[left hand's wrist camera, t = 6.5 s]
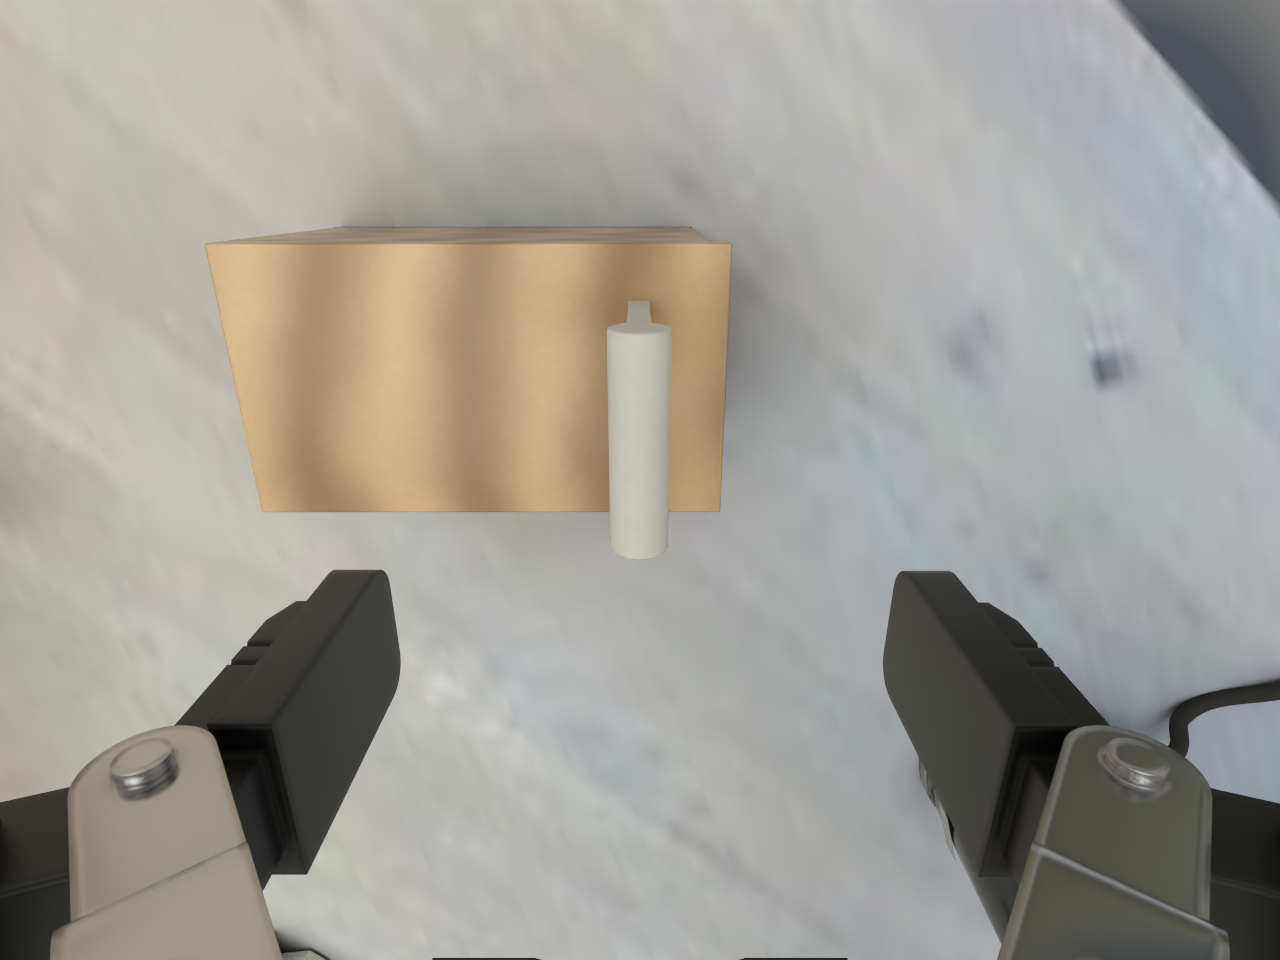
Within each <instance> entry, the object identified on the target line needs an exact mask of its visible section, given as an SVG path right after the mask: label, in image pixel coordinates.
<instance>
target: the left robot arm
mask: <svg viewBox="0 0 1280 960" xmlns="http://www.w3.org/2000/svg"><path fill="white" fill-rule="evenodd" d="M247 643H248V644H247V646H243V648H242V649H241V650H240V651H239V652H238V653H237V654H236V656H235V657H234V658H233V659H232V660H231V661H232V663H231V665H227V666H226V667H225V668H224V669H223V671H222V672H221V673H220V674H219V675H218V676H217V677H216V679H215V680H214V681H213V682H212V683H211V684H210V685H209V687H208V688H207V689H206V690H205V691H204V692H203V693H202V695H201V696H200V697H199V698H198V699H197V700H196V701H195V703H194V704H193V705H192V706H191V707H190V708H189V710H188V711H187V712H186V713H185V714H184V715H183V716H182V718H181V719H180V720H179V721H178V722H177V723H176V724H175V726H168V727H162V728H158V729H153V730H150V731H147V732H143V733H140V734H138V735H135V736H133V737H130V738H128V739H126V740H124V741H122V742H120V743H117V744H116V745H114V746H112V747H110V748H109V749H107V750H105V751H104V752H102V753H101V754H100V755H98V756H97V757H95V758H94V759H93V760H92V761H91V762H89V763H88V764H87V765H86V766H85V767H84V768H83V769H82V770H81V771H80V772H79V774H78V775H77V776H76V778H75V779H74V781H73V782H72V784H71V786H70V787H68V788H64V789H59V790H55V791H50V792H46V793H41V794H37V795H32V796H28V797H23V798H19V799H14V800H10V801H5V802H0V960H283V959H282V955H281V952H280V949H279V945H278V942H277V939H276V935H275V932H274V929H273V925H272V922H271V919H270V915H269V912H268V909H267V905H266V902H265V899H264V895H263V890H264V888H265V886H266V884H267V882H268V880H269V879H270V877H271V875H272V874H307V873H308V871H309V869H310V867H311V865H312V863H313V861H314V859H315V857H316V855H317V853H318V851H319V849H320V847H321V845H322V843H323V841H324V838H325V836H326V834H327V832H328V830H329V828H330V826H331V824H332V822H333V820H334V818H335V816H336V814H337V812H338V810H339V808H340V806H341V804H342V802H343V800H344V797H345V795H346V793H347V791H348V789H349V787H350V785H351V783H352V781H353V779H354V777H355V775H356V773H357V771H358V769H359V767H360V765H361V763H362V761H363V759H364V756H365V754H366V752H367V750H368V748H369V746H370V744H371V742H372V740H373V738H374V736H375V734H376V732H377V730H378V728H379V726H380V724H381V722H382V720H383V718H384V715H385V713H386V711H387V709H388V707H389V705H390V703H391V701H392V699H393V697H394V695H395V692H396V689H397V686H398V682H399V676H400V649H399V643H398V636H397V629H396V622H395V616H394V609H393V602H392V596H391V589H390V583H389V579H388V577H387V574H386V573H385V572H384V571H383V570H333V571H331V572H330V573H329V574H328V575H327V577H326V578H325V579H324V580H323V582H322V583H321V584H320V585H319V587H318V588H317V589H316V590H315V591H314V593H313V594H312V595H311V596H310V598H309V599H308V600H307V601H296V602H294V603H293V604H291V605H290V606H288V607H287V608H285V609H283V610H282V611H280V612H279V613H277V614H275V615H274V616H272V617H271V618H269V619H267V620H266V621H265V622H264V623H263V625H262V626H261V627H260V628H259V629H258V630H257V632H256V633H255V634H254V635H253V636H252V637H251V638H250V640H249V641H248V642H247ZM1037 644H1038V643H1037V642H1036V641H1035V640H1034V639H1033V638H1032V637H1031V636H1030V634H1029V633H1028V632H1027V631H1026V630H1025V629H1024V628H1023V626H1022V625H1021V624H1020V623H1019V622H1018V621H1017V620H1015V619H1013V618H1012V617H1010V616H1009V615H1007V614H1005V613H1004V612H1002V611H1001V610H999V609H997V608H996V607H994V606H993V605H991V604H989V603H978V602H977V601H976V599H975V598H974V597H973V596H972V595H971V593H970V592H969V591H968V590H967V588H966V587H965V586H964V585H963V584H962V582H961V581H960V580H959V579H958V578H957V576H956V575H955V574H954V573H952V572H951V571H901V572H900V573H899V574H898V575H897V577H896V580H895V583H894V589H893V595H892V602H891V609H890V615H889V622H888V629H887V635H886V642H885V648H884V656H883V671H884V679H885V685H886V689H887V692H888V695H889V697H890V699H891V701H892V703H893V705H894V707H895V709H896V711H897V713H898V715H899V717H900V719H901V721H902V723H903V725H904V727H905V729H906V731H907V733H908V735H909V737H910V739H911V742H912V744H913V746H914V748H915V750H916V752H917V754H918V756H919V758H920V776H921V780H922V783H923V785H924V787H925V789H926V791H927V793H928V795H929V798H930V799H931V801H932V802H933V804H934V806H936V808H937V810H938V812H939V814H940V816H941V819H942V821H943V826H944V831H945V836H946V841H947V844H948V846H949V849H950V851H951V853H952V855H953V857H954V859H955V856H954V851H953V846H952V842H953V844H954V847H955V849H956V851H957V853H958V855H959V857H960V859H961V861H962V863H963V865H964V867H965V869H966V871H967V874H968V876H969V878H970V880H971V882H972V884H973V886H974V888H975V890H976V892H977V894H978V896H979V899H980V901H981V903H982V905H983V907H984V909H985V911H986V913H987V915H988V917H989V919H990V921H991V924H992V926H993V928H994V930H995V932H996V934H997V936H998V938H999V940H1000V942H1001V944H1002V945H1001V949H1000V952H999V955H998V959H997V960H1280V804H1279V803H1274V802H1270V801H1265V800H1261V799H1256V798H1252V797H1247V796H1243V795H1238V794H1234V793H1229V792H1225V791H1220V790H1216V789H1212V788H1210V786H1209V784H1208V782H1207V781H1206V779H1205V778H1204V776H1203V775H1202V774H1201V772H1200V771H1199V770H1198V769H1197V768H1196V767H1195V766H1194V765H1193V764H1192V763H1191V762H1189V761H1188V760H1187V759H1186V758H1185V756H1186V754H1187V752H1188V748H1189V735H1188V724H1189V723H1190V722H1191V721H1192V720H1194V719H1195V718H1196V717H1197V716H1199V715H1201V714H1202V713H1204V712H1207V711H1209V710H1212V709H1215V708H1219V707H1224V706H1230V705H1237V704H1247V703H1257V702H1267V701H1274V700H1280V683H1275V684H1269V685H1263V686H1255V687H1245V688H1236V689H1228V690H1222V691H1217V692H1212V693H1208V694H1204V695H1201V696H1198V697H1195V698H1193V699H1190V700H1189V701H1187V702H1185V703H1184V704H1182V705H1181V706H1180V707H1179V708H1177V709H1176V710H1175V711H1174V712H1173V713H1172V715H1171V718H1170V722H1169V733H1170V744H1169V746H1166V745H1164V744H1163V743H1160V742H1158V741H1156V740H1154V739H1152V738H1150V737H1147V736H1145V735H1142V734H1140V733H1137V732H1133V731H1130V730H1127V729H1122V728H1118V727H1112V726H1110V725H1109V724H1108V723H1107V722H1106V721H1105V720H1104V718H1103V717H1102V716H1101V715H1100V714H1099V713H1098V712H1097V711H1096V709H1095V708H1094V707H1093V706H1092V705H1091V704H1090V703H1089V701H1088V700H1087V699H1086V698H1085V697H1084V696H1083V695H1082V693H1081V692H1080V691H1079V690H1078V689H1077V688H1076V687H1075V686H1074V684H1073V683H1072V682H1071V681H1070V680H1069V679H1068V678H1067V676H1066V675H1065V674H1064V673H1063V672H1062V671H1061V670H1060V668H1059V667H1054V662H1053V661H1052V659H1051V658H1050V657H1049V656H1048V655H1047V654H1046V653H1045V651H1044V650H1043V649H1042V648H1038V646H1037ZM432 960H540V959H536V958H433V959H432ZM740 960H848V959H847V958H744V959H740Z"/></svg>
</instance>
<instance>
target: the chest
mask: <svg viewBox="0 0 1280 960" xmlns="http://www.w3.org/2000/svg"><path fill="white" fill-rule="evenodd" d="M230 241H709V240H707V239H706V238H704V237H703V236H702V235H700V234H699V233H697V232H696V231H694V230H693V229H692V228H691V227H335V228H330V229H322V230H314V231H305V232H297V233H288V234H280V235H272V236H263V237H255V238H247V239H238V240H230Z"/></svg>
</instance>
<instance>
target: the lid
mask: <svg viewBox="0 0 1280 960" xmlns="http://www.w3.org/2000/svg"><path fill="white" fill-rule="evenodd" d="M205 247H206V252H207V257H208V261H209V266H210V271H211V275H212V280H213V284H214V289H215V294H216V298H217V303H218V308H219V312H220V317H221V322H222V326H223V331H224V336H225V340H226V345H227V349H228V354H229V359H230V363H231V368H232V373H233V377H234V382H235V387H236V391H237V396H238V401H239V405H240V410H241V414H242V419H243V424H244V428H245V433H246V438H247V442H248V447H249V452H250V456H251V461H252V466H253V470H254V475H255V479H256V484H257V489H258V493H259V498H260V503H261V507H262V511H263V512H610V546H611V549H612V551H613V552H614V553H615V554H617V555H619V556H621V557H624V558H628V559H635V560H643V559H651V558H655V557H657V556H660V555H662V554H663V553H664V552H665V551H666V550H667V547H668V512H720V501H721V479H722V457H723V435H724V413H725V391H726V369H727V347H728V325H729V303H730V281H731V259H732V244H731V243H730V242H728V241H221V242H213V243H206V244H205Z"/></svg>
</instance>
